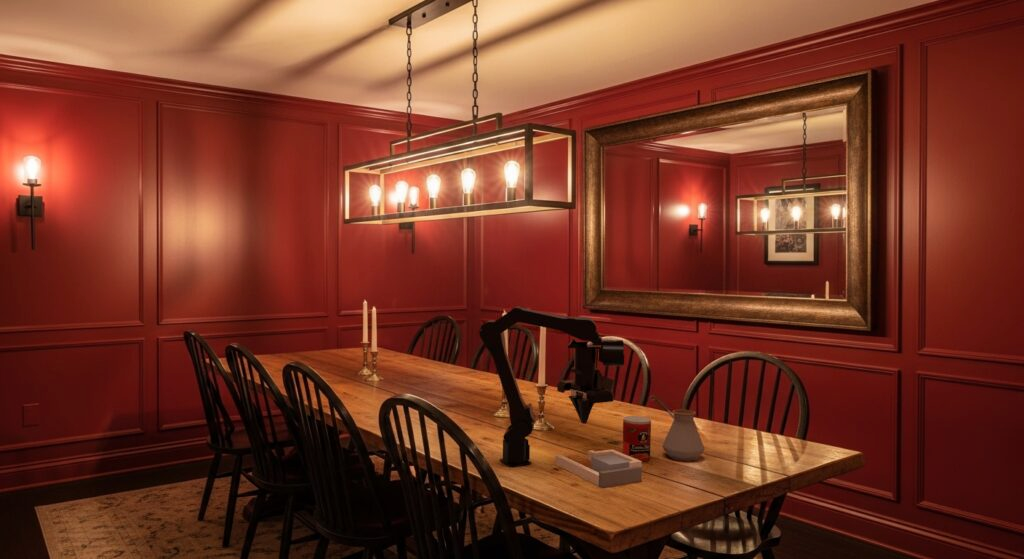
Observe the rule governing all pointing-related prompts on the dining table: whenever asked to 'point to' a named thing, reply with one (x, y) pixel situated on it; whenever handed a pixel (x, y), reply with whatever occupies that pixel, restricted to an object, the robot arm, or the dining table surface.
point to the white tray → (604, 477)
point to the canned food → (637, 437)
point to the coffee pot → (682, 435)
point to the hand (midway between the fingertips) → (584, 423)
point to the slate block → (607, 463)
